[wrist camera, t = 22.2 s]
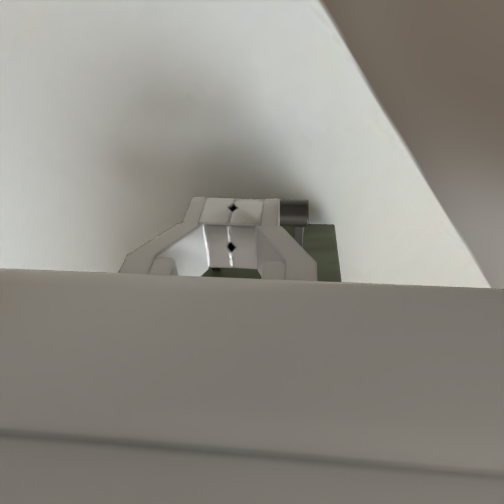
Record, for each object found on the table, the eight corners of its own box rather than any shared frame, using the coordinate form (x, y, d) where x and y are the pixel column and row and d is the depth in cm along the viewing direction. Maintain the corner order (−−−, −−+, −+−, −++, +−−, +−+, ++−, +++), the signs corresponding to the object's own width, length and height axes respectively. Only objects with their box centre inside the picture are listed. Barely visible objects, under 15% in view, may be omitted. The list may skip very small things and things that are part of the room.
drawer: (178, 157, 28) (149, 224, 23) (342, 158, 27) (355, 228, 22) (207, 327, 41) (193, 399, 35) (320, 332, 40) (325, 406, 34)
